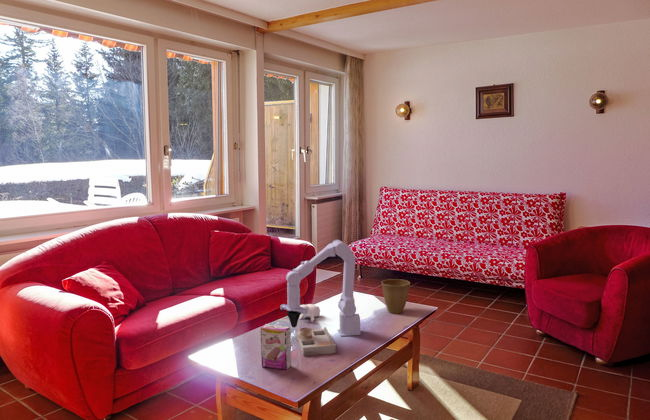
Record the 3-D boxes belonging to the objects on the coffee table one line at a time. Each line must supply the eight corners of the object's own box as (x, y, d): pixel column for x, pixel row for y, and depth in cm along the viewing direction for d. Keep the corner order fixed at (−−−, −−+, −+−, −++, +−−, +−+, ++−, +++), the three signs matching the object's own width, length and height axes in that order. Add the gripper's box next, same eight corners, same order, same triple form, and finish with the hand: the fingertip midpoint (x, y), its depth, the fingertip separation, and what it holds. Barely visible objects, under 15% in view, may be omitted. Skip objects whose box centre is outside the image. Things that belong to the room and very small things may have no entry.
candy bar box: (261, 367, 203) (259, 327, 201) (266, 362, 208) (265, 323, 206) (287, 370, 200) (285, 330, 198) (291, 365, 204) (290, 326, 202)
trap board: (325, 333, 240) (325, 326, 239) (336, 352, 216) (336, 345, 216) (296, 335, 237) (296, 328, 237) (303, 355, 214) (303, 347, 213)
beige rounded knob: (311, 334, 233) (310, 327, 232) (312, 338, 227) (312, 331, 227) (299, 335, 232) (299, 328, 231) (300, 339, 227) (300, 332, 226)
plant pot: (412, 315, 262) (412, 285, 260) (383, 316, 262) (382, 286, 260) (407, 307, 277) (407, 278, 275) (380, 307, 277) (380, 278, 275)
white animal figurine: (306, 320, 268) (292, 318, 255) (308, 304, 270) (295, 301, 257) (320, 322, 264) (307, 320, 251) (323, 306, 266) (310, 303, 253)
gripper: (275, 297, 232) (276, 326, 234) (301, 302, 224) (301, 332, 226) (285, 293, 238) (286, 321, 240) (310, 298, 230) (310, 327, 232)
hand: (294, 326), depth 233 cm, fingers closed
